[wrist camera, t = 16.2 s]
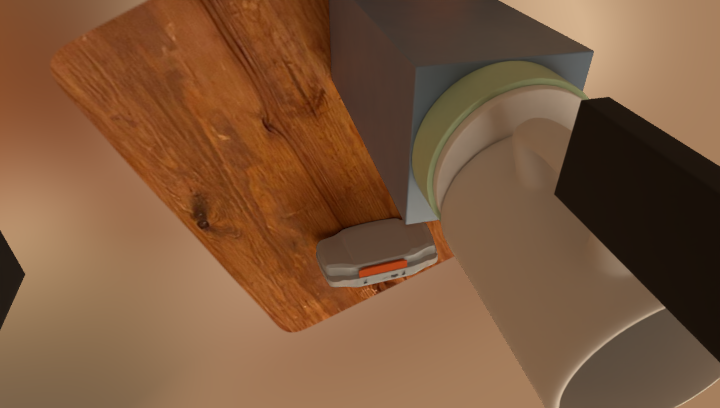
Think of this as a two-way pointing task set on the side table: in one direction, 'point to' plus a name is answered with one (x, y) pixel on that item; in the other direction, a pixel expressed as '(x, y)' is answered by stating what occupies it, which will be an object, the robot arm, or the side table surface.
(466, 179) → the mug
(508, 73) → the round tin
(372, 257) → the grey case
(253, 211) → the side table surface
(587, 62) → the stand
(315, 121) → the side table surface
